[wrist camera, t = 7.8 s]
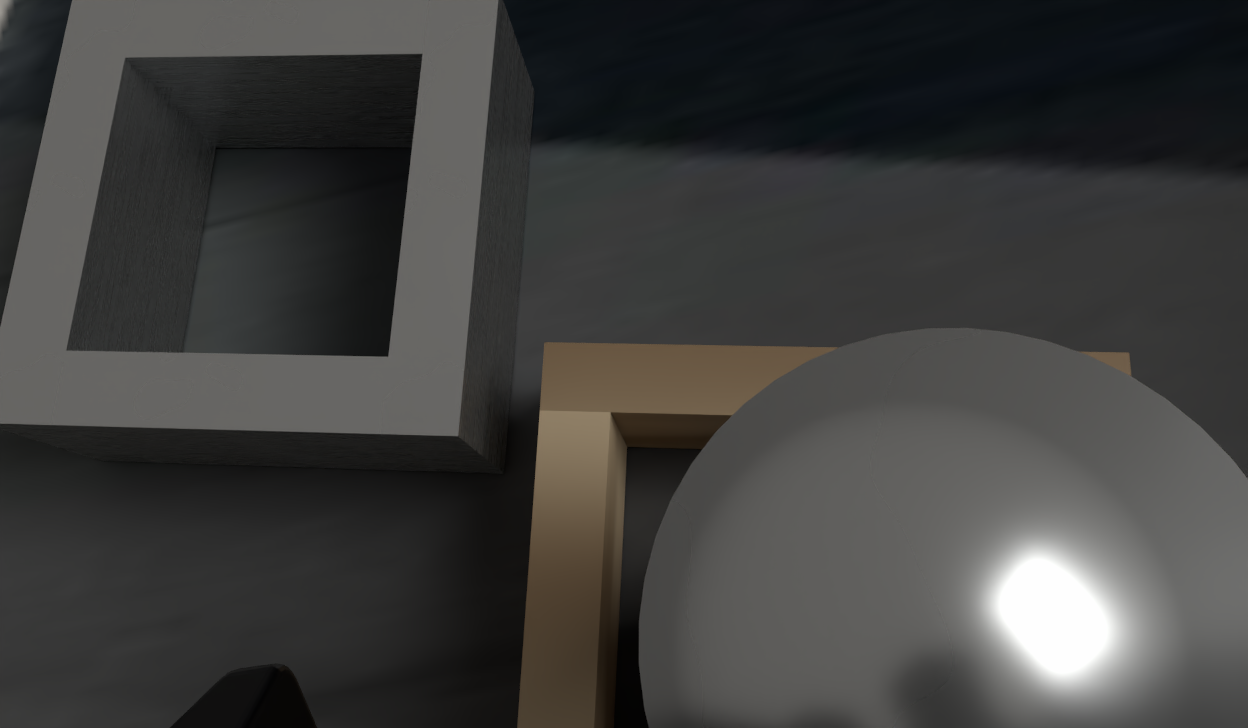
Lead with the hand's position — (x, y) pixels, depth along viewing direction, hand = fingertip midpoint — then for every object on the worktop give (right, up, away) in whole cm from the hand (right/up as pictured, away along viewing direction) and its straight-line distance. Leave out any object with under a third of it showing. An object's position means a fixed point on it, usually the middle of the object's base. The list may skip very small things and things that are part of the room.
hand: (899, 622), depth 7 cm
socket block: (-7, +4, +11) cm, 13 cm away
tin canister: (+1, -3, +8) cm, 9 cm away
